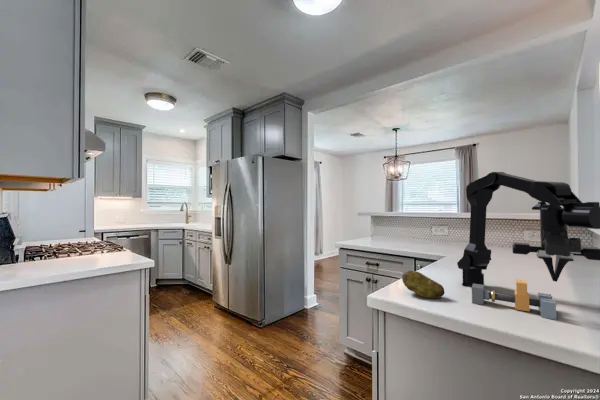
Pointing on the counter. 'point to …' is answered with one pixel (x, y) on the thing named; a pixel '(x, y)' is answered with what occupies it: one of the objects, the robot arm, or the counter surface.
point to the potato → (422, 285)
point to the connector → (479, 294)
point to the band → (493, 296)
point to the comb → (547, 306)
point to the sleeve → (521, 296)
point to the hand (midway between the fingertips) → (554, 281)
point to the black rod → (512, 299)
